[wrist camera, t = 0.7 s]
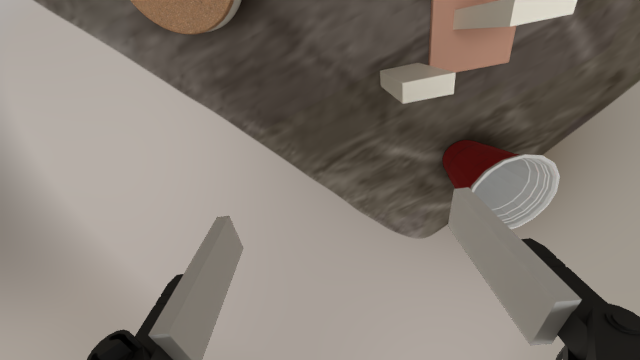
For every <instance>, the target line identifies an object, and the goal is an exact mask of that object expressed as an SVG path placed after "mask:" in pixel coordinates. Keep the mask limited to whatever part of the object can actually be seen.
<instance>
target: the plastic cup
mask: <svg viewBox="0 0 640 360" xmlns="http://www.w3.org/2000/svg"><path fill="white" fill-rule="evenodd" d="M443 165H444V168H445V170H446V172H447V173H448V177H449V178H450V180H451V182H452V184H453V185H454V187H455V189H459V188H467V187H469V188H470V189H471V190H472V191H473V192H474V193H475V194H476V195H477V196H478V197H479V198H480V199H481V200H482V201H483V202H484V203H485V204H486V205H487V206H488V207H489V208H490V209H491V210H492V211H493V212H494V213H495V214H496V215H497V216H498V217H499V218H500V219H501V220H502V221H503V222H504V223H505V224H506V225H507V226H508V227H509V228H510V229H513V228H517V227H519V226H521V225H523V224H525V223H527V222H528V221H530V220H532V219H534V218H535V217H536V216H537V215H538V214H539V213H540V212H542V211H543V210H544V209H545V208H546V207H547V206H548V204H549V203H550V201H551V200H552V198H553V197H554V195H555V193H556V192H557V189H558V183H559V178H560V175H559V172H558V170H557V167H556V165H555V163H554V162H552V161H550V160H549V159H547V158H546V157H544V156H541V155H526V154H521V155H520V154H514V153H511V152H508V151H505V150H501V149H498V148H495V147H492V146H489V145H484V144H481V143H479V142H476V141H471V140H462V141H458V142H456V143H454V144H453V145H451V146H450V147H449V148H448V149H447V150H446V152H445V154H444V156H443Z"/></svg>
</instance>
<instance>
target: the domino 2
mask: <svg viewBox="0 0 640 360" xmlns="http://www.w3.org/2000/svg"><path fill="white" fill-rule="evenodd" d="M576 2H577V0H498V1H493V2H489V3H484V4H479V5H475V6H470V7H465V8H461V9H456V10H455V11H454V22H453V30H457V29H476V28H494V27H511V26H515V25H520V24H525V23H530V22H535V21H540V20H545V19H550V18H554V17H559V16H564V15H569V14H573V12H574V9H575V6H576Z"/></svg>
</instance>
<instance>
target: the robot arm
mask: <svg viewBox="0 0 640 360" xmlns="http://www.w3.org/2000/svg"><path fill="white" fill-rule="evenodd" d="M448 227H449V228H450V230H451V231H452V232H453V234H454V235H455V237H456V238H457V240H458V241H459V243H460V244H461V245H462V247H463V248H464V250H465V252H466V253H467V254H468V256H469V257H470V259H471V260H472V262H473V263H474V265H475V266H476V267H477V269H478V270H479V272H480V273H481V275H482V276H483V278H484V279H485V281H486V282H487V283H488V285H489V286H490V288H491V289H492V291H493V292H494V294H495V295H496V296H497V298H498V299H499V301H500V302H501V304H502V305H503V307H504V308H505V309H506V311H507V312H508V314H509V315H510V317H511V318H512V320H513V321H514V323H515V324H516V325H517V327H518V328H519V330H520V331H521V333H522V334H523V336H524V337H525V338H526V340H527V341H528V343H529V344H530V345H540V344H552V342H553V341H554V340H555V338H556V337H557V335H558V336H559V337H560V339H561V340H562V341H563V342H564V344H565V346H564V347H563V348H562V350H561V351H560V352H559V354H558V355H557V358H556V360H562V359H563V360H640V317H639V316H637V315H636V314H634V313H633V312H631V311H629V310H627V309H624V308H622V307H620V306H616V305H612V304H608V303H607V302H605V301H604V300H603V299H602V298H601V297H600V296H599V295H598V294H596V293H595V292H594V291H593V290H592V289H591V288H590V287H589V286H588V285H587V284H586V283H584V282H583V281H582V280H581V279H580V278H579V277H578V276H577V275H576V274H575V273H574V272H572V271H571V270H570V269H569V268H568V267H566V266H565V264H564V263H563V262H561V261H560V260H559V259H557V258H556V256H555V255H554V254H553V253H552V252H550V251H549V250H548V249H547V248H546V247H545V246H543V245H542V244H540V243H538V242H536V241H534V240H533V239H530V238H529V239H520V238H519V237H518V236H517V235H516V234H515V233H514V232H513V231H512V230H511V229H510V228H509V227H508V226H507V225H506V224H505V223H504V222H503V221H502V220H501V219H500V218H499V217H498V216H497V215H496V214H495V213H494V212H493V211H492V210H491V209H490V208H489V207H488V206H487V205H486V204H485V203H484V202H483V201H482V200H481V199H480V198H479V197H478V196H477V195H476V194H475V193H474V192H473V191H472V190H471V189H470V188H469V187H467V188H459V189H454V193H453V199H452V205H451V211H450V217H449V223H448ZM242 250H243V246H242V244H241V242H240V239H239V237H238V235H237V232H236V231H235V228H234V226H233V223H232V221H231V219H230V216H224V217H217V218H216V220H215V222H214V223H213V225H212V227H211V228H210V230H209V232H208V234H207V235H206V237H205V239H204V241H203V242H202V244H201V246H200V247H199V249H198V251H197V253H196V254H195V256H194V258H193V259H192V261H191V263H190V264H189V266H188V268H187V270H186V271H185V273H184V274H181V275H177V276H175V277H174V279H172V281H171V282H169V283H168V284H167V286H166V288H165V289H164V291H163V293H162V294H161V297H159V299H158V301H157V302H156V305H155V306H154V307H153V309H152V310H151V312H150V313H149V315H148V316H147V318H146V320H145V321H144V323H143V325H142V326H141V328H140V329H139V331H138V332H137V334H136V336H135V337H134V336H133V335H132V334H131V333H130V332H129V331H127V330H120V331H116V332H114V333H112V334H110V335H108V336H107V337H106V338H104V339H103V340H102V341H100V342H99V343H98V345H97V346H96V347H95V348H94V349H93V350H92V352H91V353H90V355H89V356H88V358H87V360H202V359H203V356H204V353H205V350H206V348H207V345H208V342H209V340H210V337H211V334H212V332H213V329H214V326H215V324H216V321H217V318H218V315H219V313H220V310H221V307H222V305H223V302H224V299H225V296H226V294H227V291H228V288H229V286H230V283H231V280H232V278H233V275H234V272H235V269H236V266H237V264H238V261H239V259H240V256H241V253H242Z"/></svg>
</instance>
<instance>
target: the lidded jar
mask: <svg viewBox="0 0 640 360" xmlns="http://www.w3.org/2000/svg"><path fill="white" fill-rule="evenodd" d="M130 1H131V2H132V3H133V4H134V5H135V6H136V7H137V9H139V10H140V11H141V12H142V13H143V14H144V15H145V16H146V17H147V18H149V19H150V20H152V21H153V22H154V23H156V24H158V25H159V26H161V27H163V28H165V29H168V30H170V31H173V32H177V33H181V34H199V33H205V32H211V31H214V30H216V29H219V28H221V27H223V26H224V25H226V24H227V23H228V22H229V21H230V20H231V19H232V18H233V17H234V15H235V14H236V12H237V10H238V8H239V6H240V3H241V0H130Z"/></svg>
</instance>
